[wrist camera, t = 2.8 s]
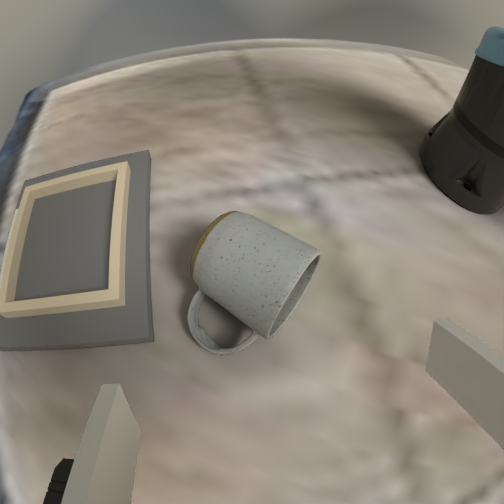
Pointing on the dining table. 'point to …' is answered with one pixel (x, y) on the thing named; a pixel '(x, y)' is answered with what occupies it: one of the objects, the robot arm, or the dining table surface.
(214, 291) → the ceramic mug
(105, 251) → the charcoal pocket board
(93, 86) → the dining table surface
